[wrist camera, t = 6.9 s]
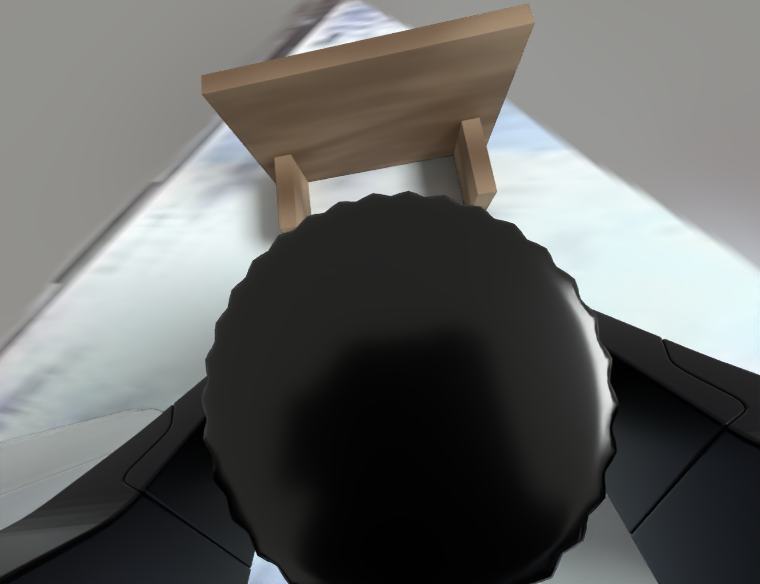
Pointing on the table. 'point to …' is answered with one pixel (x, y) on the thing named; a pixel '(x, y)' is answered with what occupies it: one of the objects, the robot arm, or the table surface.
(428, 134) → the walnut shelf nook
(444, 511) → the supplement bottle
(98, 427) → the photo printer
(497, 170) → the table surface
